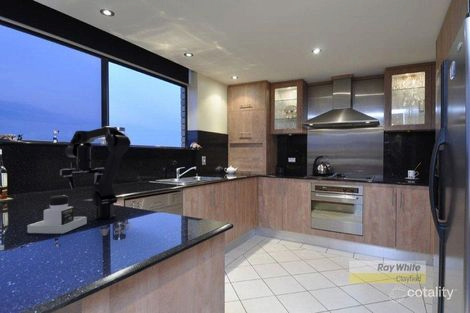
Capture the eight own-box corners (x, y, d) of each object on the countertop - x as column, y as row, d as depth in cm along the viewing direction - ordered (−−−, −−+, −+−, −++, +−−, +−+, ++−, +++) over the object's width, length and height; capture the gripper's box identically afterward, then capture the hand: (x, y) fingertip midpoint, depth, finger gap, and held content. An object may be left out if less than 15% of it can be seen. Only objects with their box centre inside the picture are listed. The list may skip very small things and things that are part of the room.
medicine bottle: (61, 228, 98) (61, 197, 97) (43, 228, 98) (43, 197, 98) (74, 223, 105) (73, 194, 105) (56, 223, 105) (56, 194, 105)
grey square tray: (86, 223, 107) (86, 216, 107) (63, 233, 94) (63, 225, 94) (55, 223, 108) (55, 216, 108) (27, 232, 95) (27, 225, 95)
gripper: (100, 157, 136) (100, 186, 136) (58, 157, 124) (58, 189, 124) (106, 157, 128) (106, 188, 128) (61, 157, 116) (62, 192, 116)
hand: (84, 189), depth 124 cm, fingers open, 9 cm apart
